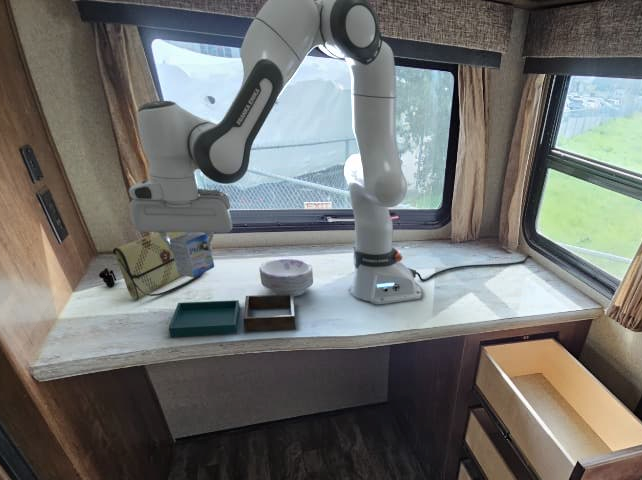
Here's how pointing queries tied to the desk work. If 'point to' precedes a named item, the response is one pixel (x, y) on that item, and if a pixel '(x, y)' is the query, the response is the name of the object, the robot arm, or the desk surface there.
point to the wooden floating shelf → (269, 321)
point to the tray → (205, 318)
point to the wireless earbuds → (108, 277)
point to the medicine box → (191, 254)
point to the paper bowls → (286, 276)
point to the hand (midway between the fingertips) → (190, 250)
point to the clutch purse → (148, 264)
